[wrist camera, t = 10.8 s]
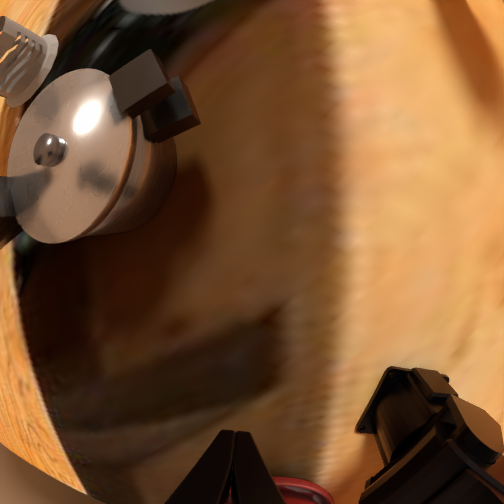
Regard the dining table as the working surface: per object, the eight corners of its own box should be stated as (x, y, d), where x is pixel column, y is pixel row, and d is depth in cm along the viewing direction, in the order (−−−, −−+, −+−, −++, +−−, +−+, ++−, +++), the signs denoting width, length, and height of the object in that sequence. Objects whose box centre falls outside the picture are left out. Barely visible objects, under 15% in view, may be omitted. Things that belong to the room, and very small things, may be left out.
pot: (188, 70, 19) (159, 29, 13) (233, 185, 19) (210, 171, 13) (6, 195, 22) (-36, 194, 16) (27, 285, 23) (-16, 298, 17)
